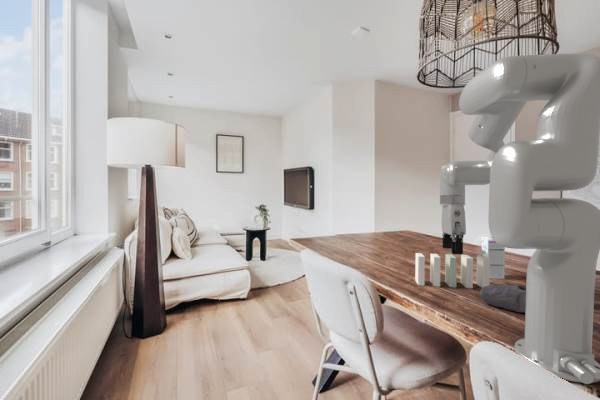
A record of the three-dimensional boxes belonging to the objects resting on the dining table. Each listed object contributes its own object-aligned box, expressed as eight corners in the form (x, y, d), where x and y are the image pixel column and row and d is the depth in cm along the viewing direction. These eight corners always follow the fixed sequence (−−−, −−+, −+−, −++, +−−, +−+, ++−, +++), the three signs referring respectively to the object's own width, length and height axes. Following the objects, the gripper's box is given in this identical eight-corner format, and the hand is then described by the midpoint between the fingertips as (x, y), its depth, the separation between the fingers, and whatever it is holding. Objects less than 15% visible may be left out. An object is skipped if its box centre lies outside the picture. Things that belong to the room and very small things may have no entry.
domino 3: (456, 287, 94) (456, 257, 94) (449, 286, 94) (450, 257, 94) (451, 282, 99) (451, 254, 98) (445, 281, 99) (445, 254, 99)
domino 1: (424, 285, 96) (424, 256, 95) (418, 285, 96) (418, 256, 96) (421, 280, 101) (421, 253, 100) (415, 280, 101) (415, 253, 101)
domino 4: (472, 288, 93) (473, 258, 92) (466, 287, 93) (466, 258, 93) (466, 283, 98) (467, 254, 97) (460, 282, 98) (461, 254, 98)
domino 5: (489, 289, 92) (490, 259, 92) (482, 288, 92) (483, 258, 92) (482, 284, 97) (483, 255, 96) (476, 283, 97) (477, 255, 97)
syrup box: (505, 279, 101) (506, 239, 101) (486, 278, 103) (487, 239, 102) (497, 274, 107) (498, 236, 106) (480, 273, 108) (481, 236, 107)
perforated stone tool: (478, 305, 80) (478, 281, 79) (480, 299, 84) (481, 276, 83) (548, 321, 70) (549, 294, 70) (547, 313, 74) (548, 288, 74)
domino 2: (440, 286, 95) (440, 257, 94) (433, 286, 95) (434, 257, 95) (436, 281, 100) (436, 253, 99) (430, 281, 100) (430, 253, 100)
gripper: (475, 201, 86) (474, 257, 86) (455, 200, 103) (455, 246, 103) (448, 201, 87) (448, 256, 88) (433, 200, 104) (433, 246, 105)
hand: (452, 251), depth 95 cm, fingers open, 9 cm apart
